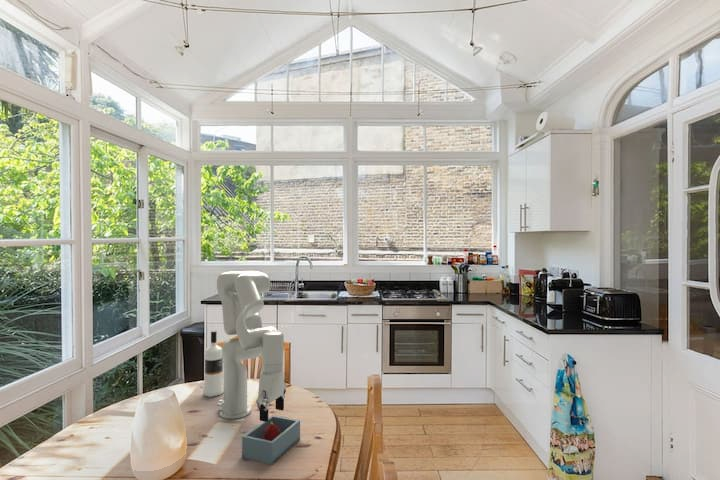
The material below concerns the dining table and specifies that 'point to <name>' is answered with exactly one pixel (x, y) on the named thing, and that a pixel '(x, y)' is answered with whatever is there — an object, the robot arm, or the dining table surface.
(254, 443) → the blue-grey open box
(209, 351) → the vodka
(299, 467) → the dining table surface
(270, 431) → the red round fruit
